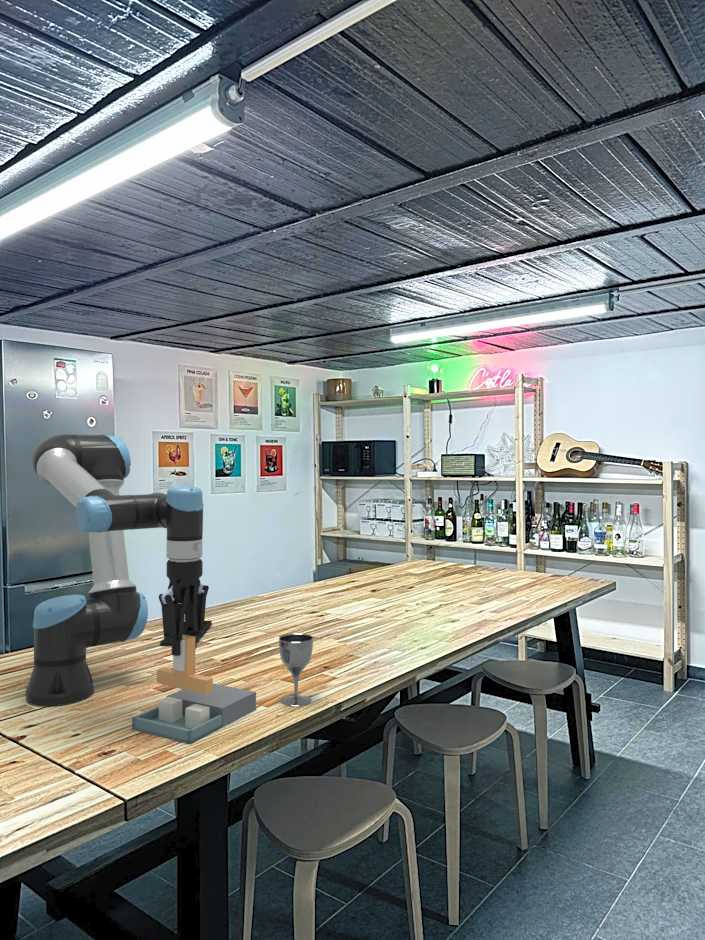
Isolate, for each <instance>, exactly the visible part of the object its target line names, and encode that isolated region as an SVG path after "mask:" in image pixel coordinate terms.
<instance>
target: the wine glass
mask: <svg viewBox="0 0 705 940" xmlns="http://www.w3.org/2000/svg"><path fill="white" fill-rule="evenodd" d="M278 639H279V640H278V649H279V656H280V659H281V662H282V664H283V665H284V666H285V668H286V669H287V670H288V671H289V672H290V674H291V675H292V680H293V687H294V694H293V695H289V696H286V697H283V698H282V699H281V700H280V703H281V704H282V705H284V706H287V707H302V706H303V707H304V706H306V705H309V704H310V703H311V702H312V699H311V697H308V696H306V695H305V696H304V695H299V693H298V692H299V691H298V690H299V689H298V688H299V680H300V676H301V674H302V672H303V671H304V670H305V668H306V667H307V666H308V665H309V663H310V662H311V658H312V655H313V649H314V641H313V640H314V638H313V636H312V635H311V634H307V633H301V632H300V633H287V634H283V635H280V636H279V637H278Z"/></svg>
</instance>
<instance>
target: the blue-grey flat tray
mask: <svg viewBox="0 0 705 940" xmlns="http://www.w3.org/2000/svg"><path fill="white" fill-rule="evenodd" d="M221 728H223V727H222V715H218V716H216V717H214V718H212V719H210V720H208V721H206V722H204V723H202V724H200V725H198V726H196V727H194V728H192V729H191V728H187V727H185V716H184V715H182V718H181V719H179V720H177V721H175V722H173V723H172V722H168V721H164V720H159V705H158V706H155V707H154V708H151V709H149V710H146V711H145V712H144V711H143V712H141V713H140V714H137V715H134V716H132V717H131V729H132V730H133V731H137V732H141V733H145V734H149V735H153V736H156V737H161V738H165V739H169V740H174V741H176V742H180V743H185V744H188V745H191V744H193V743H195V742H197V741H199V740H201V739H203V738H205V737H207V736H209V735H210V734H212V733H214V732H216V731H218V730H220V729H221Z"/></svg>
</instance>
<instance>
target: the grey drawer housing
mask: <svg viewBox="0 0 705 940" xmlns="http://www.w3.org/2000/svg"><path fill="white" fill-rule="evenodd" d="M167 697H171V698H176V699H181V700H182V715H184V716H185V708H187V707H189V706H191V705H194V704H198V705H202V706H207V707H209V716H210V719H212V718H214V717H216V716H218V715H222V728H224V727H225V726H227V725H229V724H231V723H232V722H234V721H237V720H239V719H241V718H242V717H245V716H246V715H247V714H250V713H252V712H254V711H255V710H257V692H256V691H254V690H253V691H252V690H250V689H249V690H247V689H243V688H239V687H233V686H227V685H223V684H218V683H213V692H211V693H209V694H207V695H205V694H201V693H197V692H192V691H188V690H184V689H180V690H177V691H175V692H172V693H170V694H168V695H166V697H165V698H167Z"/></svg>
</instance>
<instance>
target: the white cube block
mask: <svg viewBox="0 0 705 940" xmlns="http://www.w3.org/2000/svg"><path fill="white" fill-rule="evenodd" d="M158 706H159V720H164V721H168V722H172V723H173V722H175V721H177V720H179V719H181V718H182V700H181V699H176V698H171V697H167V698H166V697H165V698H163V699H161V700H158Z"/></svg>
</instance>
